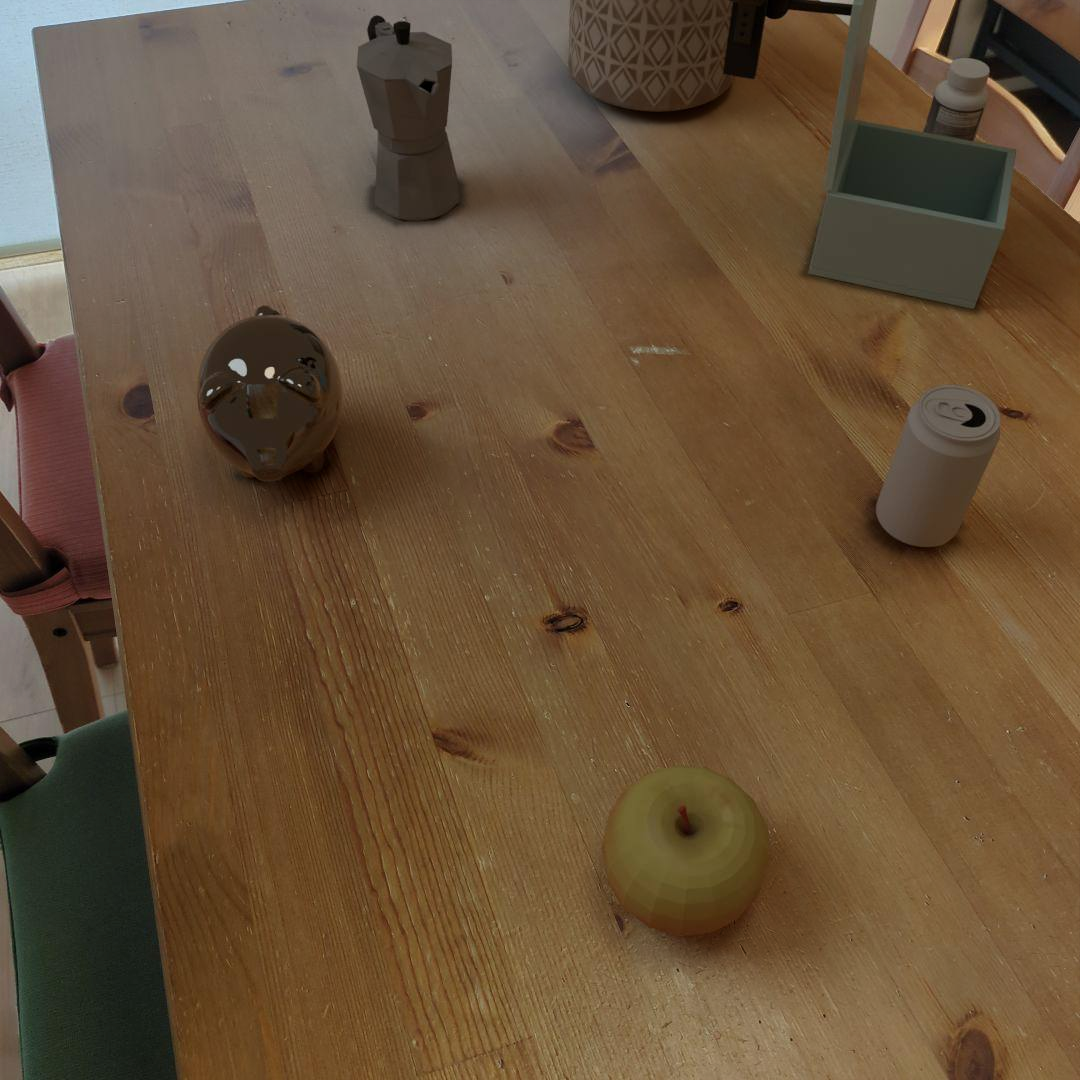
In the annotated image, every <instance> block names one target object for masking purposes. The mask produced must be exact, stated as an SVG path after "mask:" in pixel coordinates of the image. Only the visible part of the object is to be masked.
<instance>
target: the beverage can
mask: <svg viewBox="0 0 1080 1080" xmlns="http://www.w3.org/2000/svg"><path fill="white" fill-rule="evenodd" d="M1000 426H1001V414H1000V411H999V409H998V407H997V406H996V404H995V403H994V402H993V401H992V399H990V398H989V397H988V396H987V395H985V394H983V393H982V392H980V391H978V390H976V389H974V388H971V387H969V386H964V385H959V384H942V385H937V386H933V387H931V388H929V389H927V390H926V391H924V392H923V393H922V394H921V396H920V397H919V399H918V400H917V401H916V402H915V403H913V404H912V406H911V407H910V409H909V411H908V414H907V417H906V419H905V422H904V425H903V428H902V431H901V433H900V436H899V439H898V441H897V445H896V448H895V450H894V454H893V456H892V459H891V461H890V465H889V467H888V470H887V472H886V476H885V479H884V481H883V484H882V486H881V490H880V493H879V495H878V498H877V501H876V503H875V514H876V518H877V521H878V522H879V524H880V526H881V527H882V529H884V530H885V532H887V534H889V535H890V536H891V537H893V538H894V539H896V540H897V541H900V542H901V543H904V544H906V545H910V546H913V547H920V548H933V547H937V546H942V545H944V544H946V543H948V542H949V541H950V540H952V539H953V538H954V537H955V536H956V535H957V534H958V531H959V530H960V527H961V525H962V522H963V520H964V518H965V516H966V514H967V512H968V509H969V507H970V506H971V503H972V500H973V499H974V496H975V494H976V492H977V489H978V487H979V485H980V483H981V481H982V479H983V476H984V475H985V472H986V470H987V468H988V465H989V463H990V460H991V459H992V457H993V454H994V452H995V450H996V448H997V446H998V443H999V441H1000V438H1001V428H1000Z"/></svg>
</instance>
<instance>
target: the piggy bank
mask: <svg viewBox="0 0 1080 1080" xmlns="http://www.w3.org/2000/svg"><path fill="white" fill-rule="evenodd" d="M195 393H196V395H195V396H196V406H197V412H198V416H199V421H200V423H201V426H202V429H203V431H204V433H205V435H206V437H207V439H208V441H209V442H210V444H211V445H212V447H213V448H214V450H216V452H217V453H218V454H219V455H220V456H221V457H222V458H223V459H224V460H226V461H227V462H228V463H229V464H231V465H233V466H234V467H236V468H238V469H239V472H240V473H241V474H242V475H243V476H244V477H246V478H249V479H250V478H251V479H252V478H256V479H257V480H259V481H262V482H276V481H280V480H282V479H283V478H285V477H286V476H288V475H291V474H294V473H296V472H298V471H300V470H303V471H304V472H306V473H312V474H313V473H317V472H319V471H320V470H321V469H323V467H324V465H325V456H324V451H325V450H326V449H327V448H328V446H329V445H330V443H331V442H332V440H333V439H334V437H335V434H336V432H337V430H338V427H339V424H340V421H341V417H342V412H343V406H344V386H343V379H342V374H341V371H340V367H339V364H338V362H337V360H336V358H335V355H334V354H333V352H332V350H331V348H330V347H329V345H328V344H327V343H326V341H324V339H323V338H322V337H321V336H320V335H319V334H318V333H317V332H316V331H314V330H313V329H312V328H311V327H309V326H308V325H306V324H304V323H302V322H301V321H298V320H296V319H294V318H291V317H288V316H284V315H282V314H281V313H280V312H279V311H278V310H276V309H274V308H273V307H272V306H269V305H260V306H258V308H256V310H255V312H254V315H252V316H248V317H246V318H242V319H240V320H238V321H236V322H234V323H232V324H230V325H229V326H227V327H226V328H225V329H224V330H222V331H220V333H219V334H218V335H217V336H216V337H215V338H214V339H213V340H212V342H211V343H210V345H209V346H208V347H207V349H206V351H205V353H204V355H203V357H202V359H201V362H200V365H199V369H198V372H197V379H196V392H195Z"/></svg>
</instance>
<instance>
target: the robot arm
mask: <svg viewBox="0 0 1080 1080" xmlns="http://www.w3.org/2000/svg"><path fill="white" fill-rule="evenodd" d="M729 1H730V2H733V5H732V12H731V19H730V26H729V34H728V41H727V48H726V55H725V62H724V69H723V74H726V75H732V76H735V77H739V78H744V79H749V80H755V79H756V76H757V71H758V66H759V58H760V53H761V48H762V47H761V46H762V41H763V36H764V35H763V34H764V29H765V22H766V18H767V17H766V11H767V4H768V0H729Z"/></svg>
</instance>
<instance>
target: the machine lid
mask: <svg viewBox="0 0 1080 1080" xmlns="http://www.w3.org/2000/svg"><path fill="white" fill-rule="evenodd" d="M877 1H878V0H853V3H844V2H843V3H842V2H833V1H832V2H831V1H824V0H823V1H822V0H768V4H767V11H766V17H765V18H767V19H770V20H779V19H781V18H783V17H784V16H786V14H787V13H788V11H799V12H808V13H819V14H828V15H838V16H849V17H850V18H849V25H848V30H847V31H848V32H847V37H846V44H845V50H844V56H843V63H842V68H841V75H840V81H839V88H838V94H837V101H836V107H835V114H834V119H833V126H832V132H831V139H830V145H829V151H828V157H827V158H828V159H827V163H826V168H825V169H826V170H825V177H824V183H823V184H824V185H823V189H824V190H827V191H828V190H832V189H833V186H834V183H835V180H836V177H837V174H838V171H839V168H840V165H841V162H842V159H843V156H844V153H845V150H846V147H847V144H848V141H849V137H850V134H851V131H852V128H853V125H854V122H855V120H857V117H858V110H859V105H860V99H861V94H862V88H863V83H864V77H865V71H866V65H867V59H868V53H869V47H870V42H871V37H872V36H871V35H872V31H873V25H874V19H875V13H876V7H877Z"/></svg>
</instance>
